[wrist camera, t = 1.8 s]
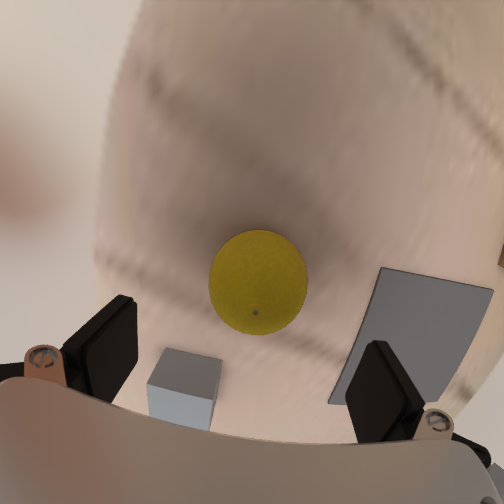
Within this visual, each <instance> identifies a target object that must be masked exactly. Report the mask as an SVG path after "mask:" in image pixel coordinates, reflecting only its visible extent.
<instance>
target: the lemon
mask: <svg viewBox="0 0 504 504" xmlns="http://www.w3.org/2000/svg"><path fill="white" fill-rule="evenodd" d="M307 283H308V277H307V271H306V266H305V263H304V261H303V259H302V257H301V255H300V253H299V251H298V250H297V249H296V248H295V246H294V245H293V244H292V243H291V242H290V241H289V240H287V239H286V238H284V237H283V236H281V235H279V234H277V233H274V232H271V231H266V230H252V231H246V232H243V233H241V234H239V235H237V236H234V237H233V238H232V239H230V240H229V241H228V242H227V243H225V244H224V245H223V246H222V248H221V249H220V250H219V252H218V253H217V255H216V256H215V258H214V261H213V263H212V266H211V269H210V274H209V292H210V297H211V302H212V304H213V306H214V308H215V310H216V312H217V314H218V315H219V316H220V318H221V319H222V320H223V321H224V322H225V323H226V324H228V325H229V326H230V327H232V328H233V329H235V330H237V331H240V332H242V333H245V334H250V335H266V334H270V333H274V332H276V331H278V330H280V329H282V328H284V327H285V326H287V325H288V324H289V323H290V322H291V321H293V319H294V318H295V317H296V315H297V314H298V313H299V311H300V310H301V308H302V305H303V303H304V300H305V297H306V293H307Z"/></svg>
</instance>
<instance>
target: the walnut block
mask: <svg viewBox="0 0 504 504" xmlns="http://www.w3.org/2000/svg"><path fill="white" fill-rule="evenodd" d="M498 265H500V266H502V267H503V268H504V245H503V249H502V252H501V256H500V259H499V262H498Z"/></svg>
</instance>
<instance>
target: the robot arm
mask: <svg viewBox="0 0 504 504" xmlns="http://www.w3.org/2000/svg"><path fill="white" fill-rule="evenodd" d="M137 361H138V335H137V303H136V302H134V300H133V298H132V297H128V296H124V295H120V294H119V295H118V296H116V297H115V298H114V299H113V300H112V301H111V302H109V303H108V304H107V305H106V306H105V307H104V308H103V309H101V310H100V311H99V312H98V313H97V314H96V315H95V316H93V317H92V318H91V319H90V320H89V321H88V322H87V323H86V324H85V325H83V326H82V327H81V328H80V329H79V330H78V331H77V332H76V333H75V334H74V335H72V336H71V337H70V338H69V339H68V340H67V341H66V342H65V343H64V344H63V347H62V348H61V349H60V350H58V349H57V348H55V347H54V346H50V345H38V346H35V347H32V348H31V349H29V350H28V351H27V353H26V354H25V358H24V362H19V363H10V364H0V504H504V470H503V469H502V468H501V467H500V466H498V465H497V464H496V463H493V464H492V465H491V456H490V454H489V452H488V450H487V449H486V448H485V447H483V446H481V445H479V444H477V443H474V442H472V441H470V440H468V439H466V438H464V437H461V436H459V435H457V434H455V433H453V429H454V423H453V420H452V418H451V417H450V416H449V415H448V414H447V413H446V412H444V411H442V410H439V409H428V410H426V411H424V409H423V407H424V405H425V404H426V403H425V402H424V400H423V398H422V397H421V395H420V393H419V392H418V390H417V388H416V387H415V385H414V383H413V382H412V380H411V378H410V377H409V375H408V374H407V372H406V370H405V369H404V367H403V366H402V364H401V362H400V361H399V359H398V358H397V356H396V355H395V353H394V352H393V350H392V348H391V347H390V345H389V344H388V342H387V341H382V340H373V341H372V342H371V343H368V344H367V346H366V348H365V350H364V353H363V355H362V358H361V360H360V362H359V364H358V367H357V369H356V371H355V373H354V376H353V378H352V380H351V382H350V384H349V386H348V388H347V390H346V393H345V400H346V403H347V407H348V410H349V413H350V417H351V420H352V423H353V427H354V430H355V434H356V437H357V441H358V443H351V444H318V443H296V442H282V441H271V440H262V439H254V438H246V437H239V436H233V435H227V434H221V433H216V432H211V431H206V430H201V429H196V428H192V427H187V426H183V425H179V424H175V423H171V422H167V421H164V420H160V419H157V418H153V417H150V416H147V415H143V414H140V413H137V412H134V411H131V410H128V409H125V408H122V407H119V406H116V405H114V404H111V403H112V401H113V399H114V398H115V396H116V395H117V393H118V392H119V390H120V388H121V387H122V385H123V384H124V382H125V381H126V379H127V378H128V376H129V374H130V373H131V371H132V370H133V368H134V367H135V365H136V363H137Z"/></svg>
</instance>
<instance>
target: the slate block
mask: <svg viewBox="0 0 504 504" xmlns="http://www.w3.org/2000/svg"><path fill="white" fill-rule="evenodd" d="M221 365H222V360H219V359H214V358H209V357H205V356H200V355H196V354H191V353H187V352H183V351H178V350H174V349H170V348H165V350H164V352H163V354H162V356H161V357H160V359H159V361H158V363H157V365H156V367H155V369H154V370H153V372H152V374H151V376H150V378H149V380H148V382H147V395H148V405H149V415H150V417H153V418H157V419H160V420H164V421H167V422H171V423H175V424H179V425H183V426H187V427H192V428H196V429H201V430H206V431H209V430H210V425H211V421H212V416H213V412H214V407H215V403H216V399H217V392H218V385H219V379H220V372H221Z"/></svg>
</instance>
